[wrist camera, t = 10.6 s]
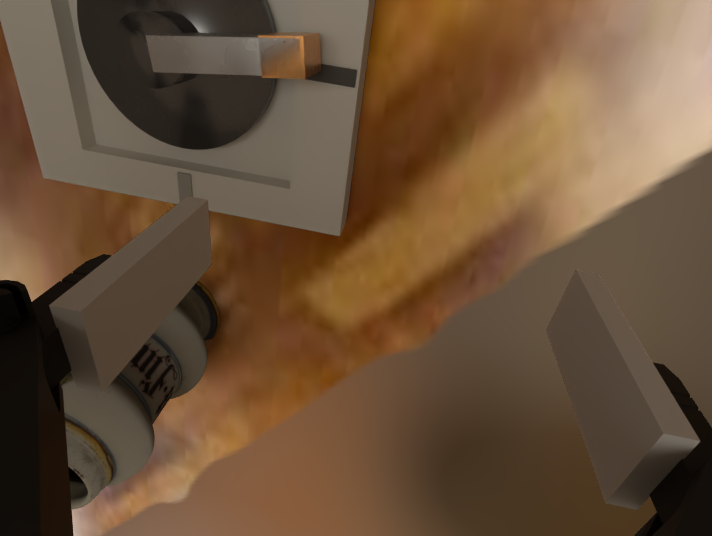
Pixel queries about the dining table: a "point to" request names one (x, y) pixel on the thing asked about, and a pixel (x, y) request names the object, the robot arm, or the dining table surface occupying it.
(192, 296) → the apothecary jar
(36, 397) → the robot arm
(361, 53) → the panel
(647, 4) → the dining table surface
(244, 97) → the dial
